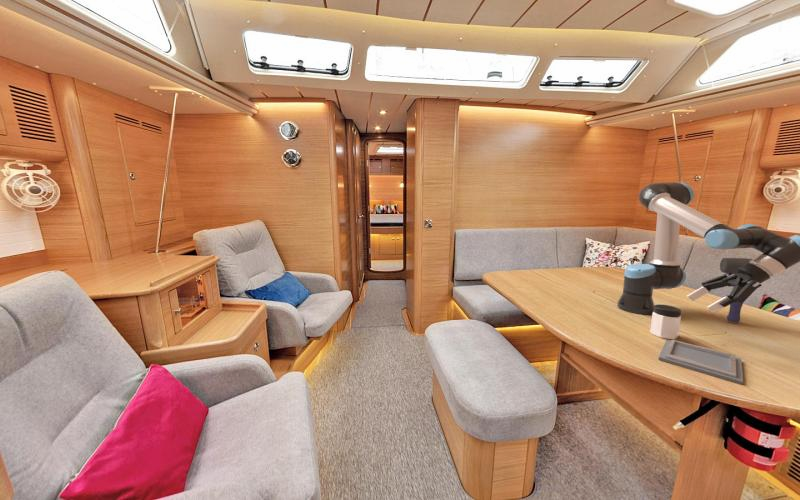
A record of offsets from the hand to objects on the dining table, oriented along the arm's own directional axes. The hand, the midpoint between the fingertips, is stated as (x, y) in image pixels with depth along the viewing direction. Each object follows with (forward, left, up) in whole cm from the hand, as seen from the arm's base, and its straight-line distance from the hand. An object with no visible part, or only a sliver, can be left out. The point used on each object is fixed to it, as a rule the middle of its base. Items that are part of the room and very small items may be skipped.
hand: (699, 303), depth 111 cm
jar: (-9, -4, -15) cm, 18 cm away
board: (+2, -21, -15) cm, 26 cm away
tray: (+2, -21, -15) cm, 26 cm away
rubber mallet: (+10, +34, -15) cm, 38 cm away
